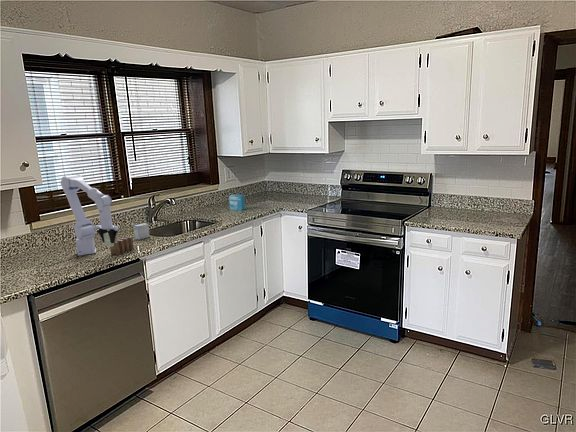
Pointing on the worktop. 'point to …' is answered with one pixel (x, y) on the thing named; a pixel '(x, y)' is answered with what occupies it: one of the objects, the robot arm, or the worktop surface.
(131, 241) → the head tile
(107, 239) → the tile
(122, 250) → the tile
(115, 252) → the tile
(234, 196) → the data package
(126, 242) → the tile
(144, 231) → the medicine box
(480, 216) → the worktop surface
